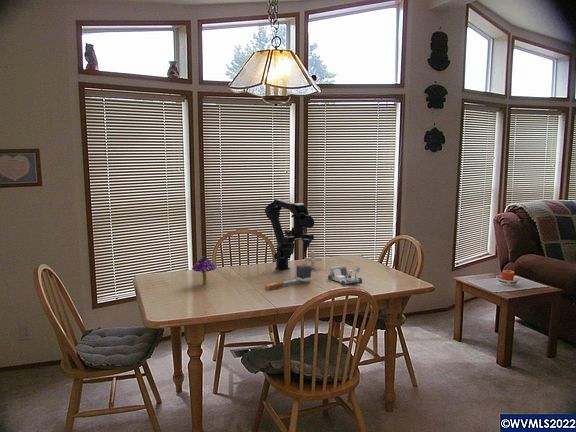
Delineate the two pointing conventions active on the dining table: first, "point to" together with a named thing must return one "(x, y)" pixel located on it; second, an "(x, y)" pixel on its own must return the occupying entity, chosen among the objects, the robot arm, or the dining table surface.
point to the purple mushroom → (204, 267)
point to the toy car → (344, 275)
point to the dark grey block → (303, 271)
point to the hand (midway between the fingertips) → (298, 253)
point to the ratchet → (286, 283)
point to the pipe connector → (312, 259)
